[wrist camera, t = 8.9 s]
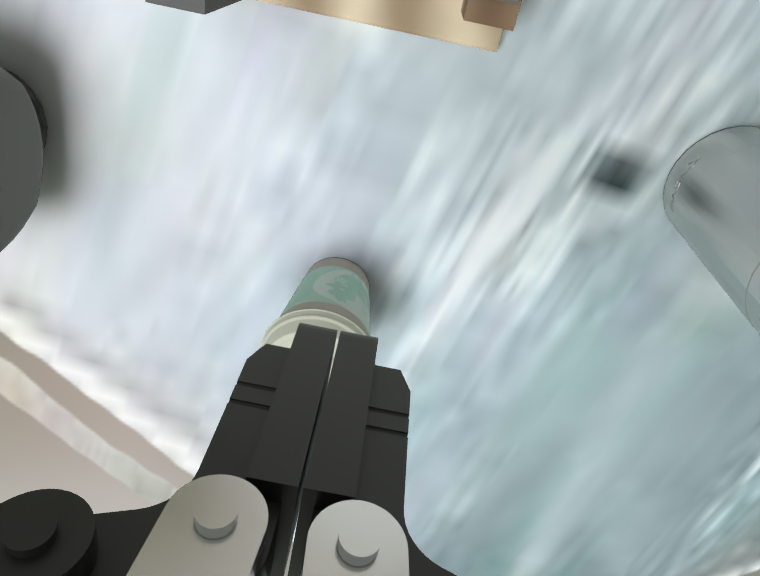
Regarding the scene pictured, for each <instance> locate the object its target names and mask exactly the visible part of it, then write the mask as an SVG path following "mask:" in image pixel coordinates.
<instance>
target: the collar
mask: <svg viewBox="0 0 760 576" xmlns="http://www.w3.org/2000/svg"><path fill="white" fill-rule="evenodd" d="M238 1H241V0H146V2H148V3H153V4H158V5H162V6H167V7H172V8H176V9H181V10H186V11H190V12H195V13H200V14H204V15H205V14H207V13H210V12H213V11H215V10H218V9H220V8H223V7H225V6H228V5H231V4H233V3H236V2H238Z"/></svg>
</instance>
